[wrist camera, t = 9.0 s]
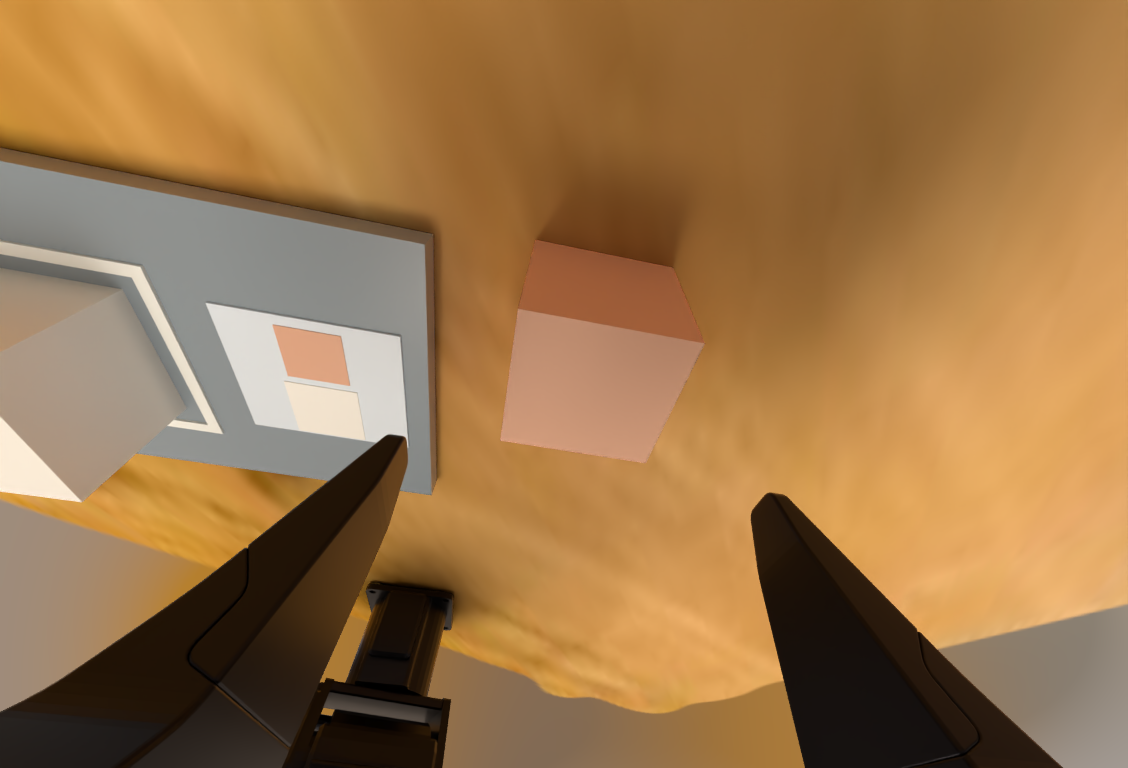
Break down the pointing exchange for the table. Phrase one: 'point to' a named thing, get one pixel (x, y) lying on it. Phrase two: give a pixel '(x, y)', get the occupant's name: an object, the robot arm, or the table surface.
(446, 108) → the table surface
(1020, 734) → the robot arm
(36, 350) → the cream block
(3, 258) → the building plate
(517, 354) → the terracotta block
